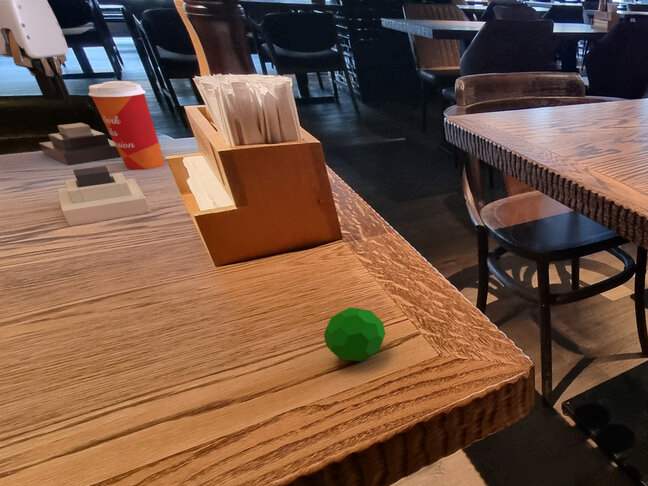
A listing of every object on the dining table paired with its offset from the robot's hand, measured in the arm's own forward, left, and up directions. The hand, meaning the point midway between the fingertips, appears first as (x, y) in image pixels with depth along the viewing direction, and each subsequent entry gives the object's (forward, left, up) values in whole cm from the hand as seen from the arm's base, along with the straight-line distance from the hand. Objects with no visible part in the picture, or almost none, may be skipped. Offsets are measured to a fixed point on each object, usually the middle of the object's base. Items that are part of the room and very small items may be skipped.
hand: (57, 98), depth 95 cm
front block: (+20, -31, -10) cm, 38 cm away
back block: (0, 0, -10) cm, 10 cm away
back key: (0, 0, -7) cm, 7 cm away
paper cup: (+14, -8, -11) cm, 19 cm away
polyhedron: (+64, -75, -11) cm, 99 cm away
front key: (+20, -31, -7) cm, 38 cm away
